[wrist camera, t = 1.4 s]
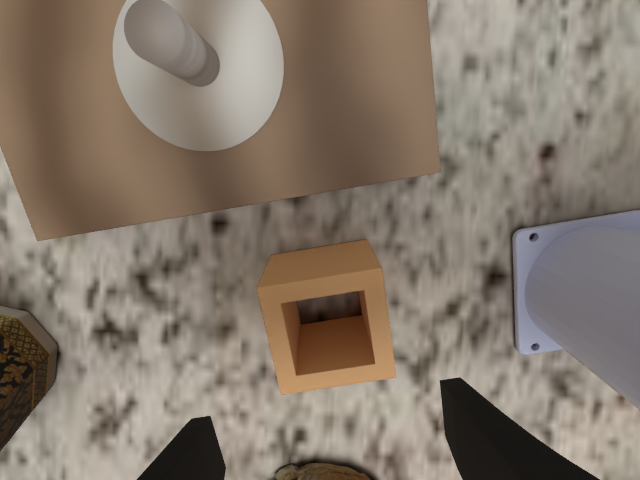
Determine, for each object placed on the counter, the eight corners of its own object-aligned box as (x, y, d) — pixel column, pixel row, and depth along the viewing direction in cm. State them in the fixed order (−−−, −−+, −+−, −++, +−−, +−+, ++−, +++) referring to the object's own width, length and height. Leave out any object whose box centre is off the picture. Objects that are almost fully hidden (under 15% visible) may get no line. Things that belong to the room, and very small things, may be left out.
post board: (408, -142, 15) (461, -319, 10) (434, 171, 19) (486, 180, 13) (-56, -47, 16) (-264, -157, 10) (51, 236, 20) (-61, 272, 14)
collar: (366, 239, 20) (382, 267, 15) (378, 325, 21) (396, 377, 16) (271, 255, 20) (256, 288, 15) (289, 339, 21) (281, 394, 17)
